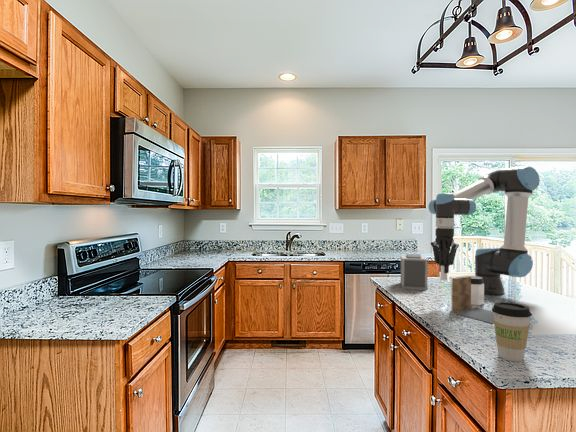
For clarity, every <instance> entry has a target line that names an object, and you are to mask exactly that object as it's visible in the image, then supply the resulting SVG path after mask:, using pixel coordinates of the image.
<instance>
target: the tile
mask: <svg viewBox="0 0 576 432" xmlns="http://www.w3.org/2000/svg"><path fill="white" fill-rule="evenodd" d="M470 276H471V275H463V276H462V275H461V276H456V277H455V276H454V277H451V282H450V283H451V284H450V286H451V288H450V289H451V291H450V292H451V294H450V296H451V298H450V299H451V302H450V303H451V304H450V309H451V311H452V312H459V311H463V310H467V309H472V305H471V277H470Z"/></svg>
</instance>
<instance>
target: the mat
mask: <svg viewBox="0 0 576 432" xmlns="http://www.w3.org/2000/svg"><path fill="white" fill-rule="evenodd" d="M453 314H455V315H459V316H462V317H466V318H469V319H473V320H477V321H481V322H484V323H488V324H491V325H493V324H494V312H493V311H492V310H489V309H484V308H481V307H471V309H467V310H463V311H459V312H455V311H453Z"/></svg>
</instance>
